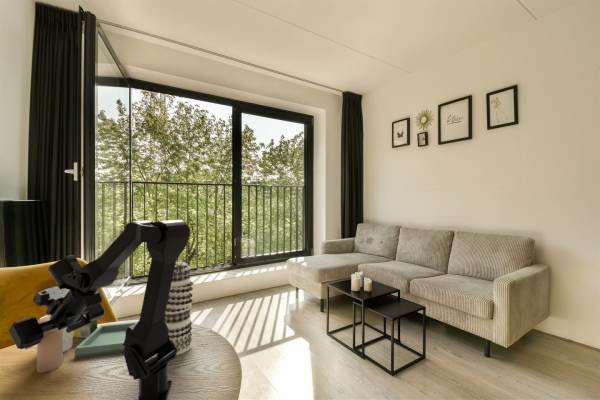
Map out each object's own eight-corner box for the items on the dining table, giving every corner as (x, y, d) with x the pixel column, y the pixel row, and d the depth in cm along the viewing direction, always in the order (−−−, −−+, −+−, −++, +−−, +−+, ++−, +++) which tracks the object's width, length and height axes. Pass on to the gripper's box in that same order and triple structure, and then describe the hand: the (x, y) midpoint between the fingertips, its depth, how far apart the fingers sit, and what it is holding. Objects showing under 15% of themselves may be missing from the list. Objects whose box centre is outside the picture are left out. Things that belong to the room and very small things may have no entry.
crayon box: (97, 334, 89) (98, 298, 90) (89, 338, 86) (89, 302, 87) (78, 332, 91) (78, 297, 91) (69, 337, 88) (70, 300, 88)
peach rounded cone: (55, 370, 70) (55, 321, 70) (31, 373, 69) (32, 323, 69) (66, 359, 75) (67, 314, 75) (44, 362, 73) (45, 316, 74)
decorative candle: (178, 358, 75) (178, 267, 75) (151, 353, 77) (151, 266, 78) (199, 342, 84) (199, 261, 84) (174, 338, 86) (174, 259, 86)
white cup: (53, 358, 75) (54, 322, 76) (31, 355, 77) (32, 320, 77) (81, 344, 83) (82, 311, 83) (61, 341, 85) (61, 309, 85)
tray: (134, 350, 79) (135, 341, 79) (74, 357, 75) (75, 348, 76) (150, 328, 94) (150, 320, 94) (100, 333, 90) (100, 325, 90)
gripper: (98, 269, 79) (72, 303, 83) (14, 288, 62) (-15, 329, 65) (117, 299, 77) (90, 332, 80) (35, 328, 59) (4, 369, 62)
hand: (47, 339), depth 72 cm, fingers open, 9 cm apart
